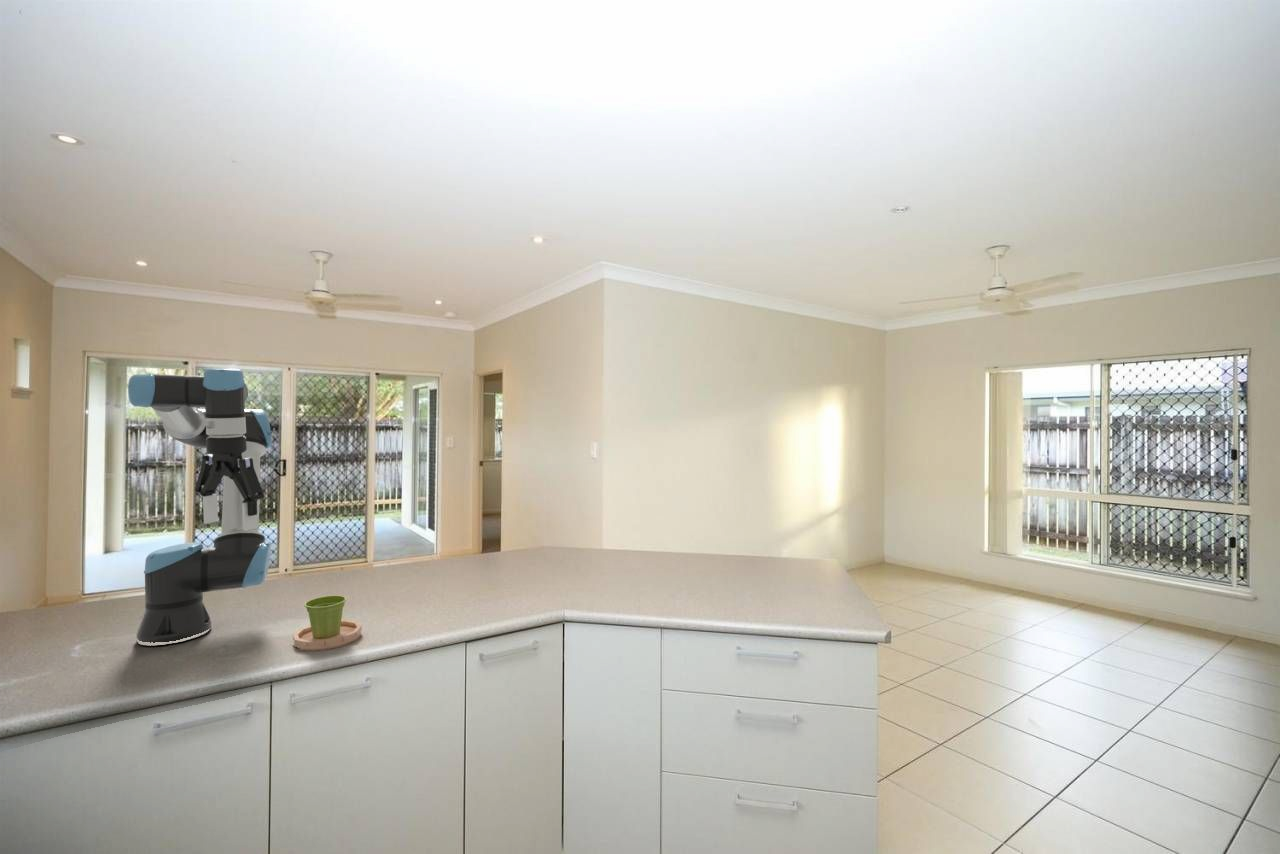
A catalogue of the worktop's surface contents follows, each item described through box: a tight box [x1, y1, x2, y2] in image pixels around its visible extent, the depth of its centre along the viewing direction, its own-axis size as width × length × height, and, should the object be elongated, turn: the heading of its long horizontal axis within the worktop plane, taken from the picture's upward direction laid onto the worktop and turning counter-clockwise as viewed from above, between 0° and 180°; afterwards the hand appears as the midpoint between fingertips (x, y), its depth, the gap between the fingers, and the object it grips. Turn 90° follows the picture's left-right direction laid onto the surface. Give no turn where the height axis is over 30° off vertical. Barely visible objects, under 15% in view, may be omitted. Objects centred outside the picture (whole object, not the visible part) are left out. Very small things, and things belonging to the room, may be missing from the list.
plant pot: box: [304, 594, 347, 639], centre depth 146 cm, size 9×9×9 cm
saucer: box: [292, 619, 363, 652], centre depth 147 cm, size 15×15×2 cm
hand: (230, 525), depth 134 cm, fingers open, 13 cm apart
